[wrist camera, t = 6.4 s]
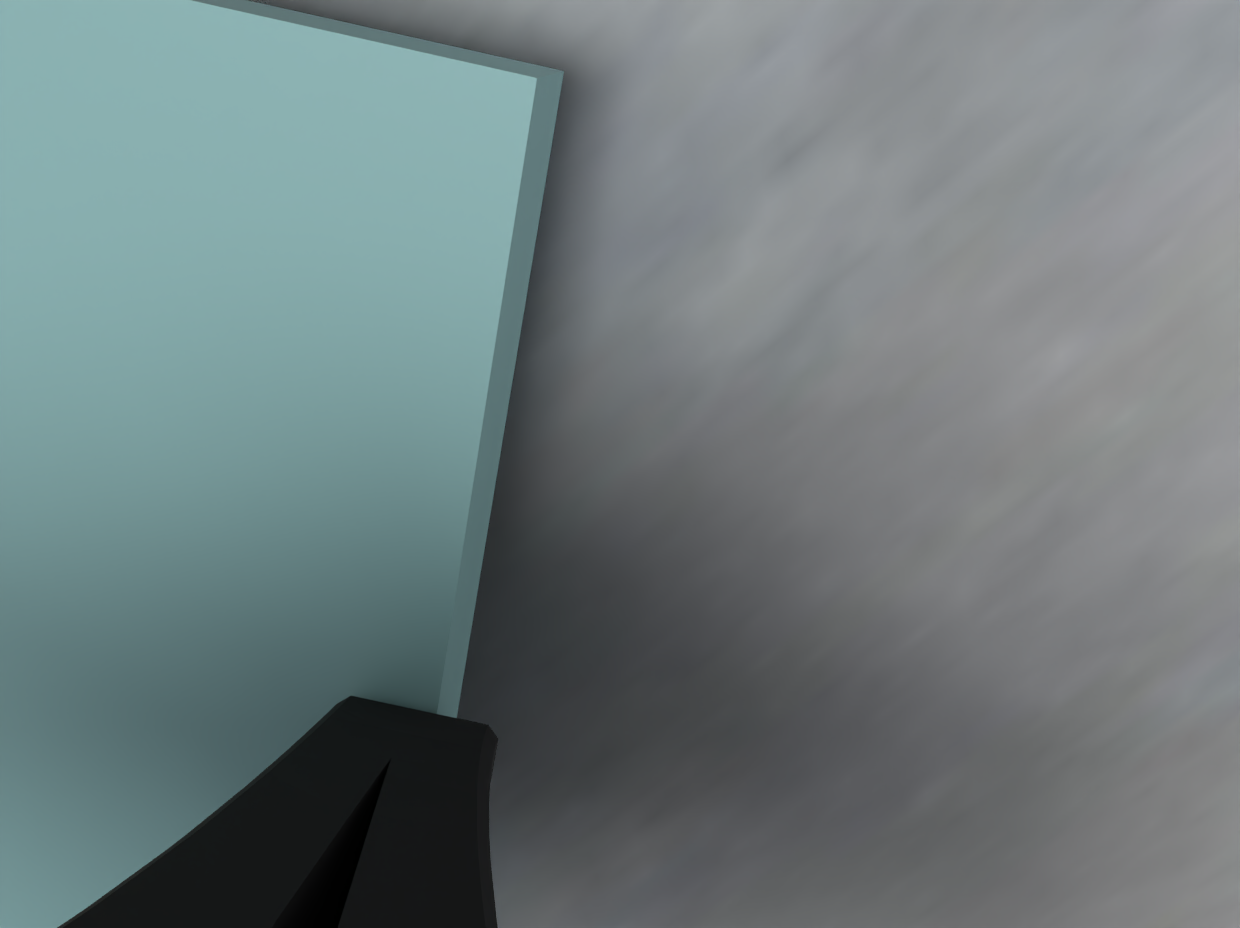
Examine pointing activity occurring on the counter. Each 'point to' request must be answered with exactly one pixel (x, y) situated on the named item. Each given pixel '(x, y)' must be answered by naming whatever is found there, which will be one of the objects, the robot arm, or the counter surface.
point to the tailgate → (237, 400)
